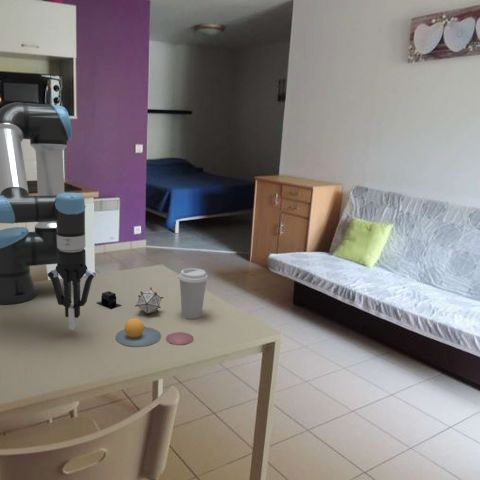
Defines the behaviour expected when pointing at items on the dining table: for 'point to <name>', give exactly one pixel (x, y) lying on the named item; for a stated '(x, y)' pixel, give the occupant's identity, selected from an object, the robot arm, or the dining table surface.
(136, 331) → the ball
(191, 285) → the coffee cup
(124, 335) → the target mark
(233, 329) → the dining table surface
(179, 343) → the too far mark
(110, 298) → the black boxy piece
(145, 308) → the game die
